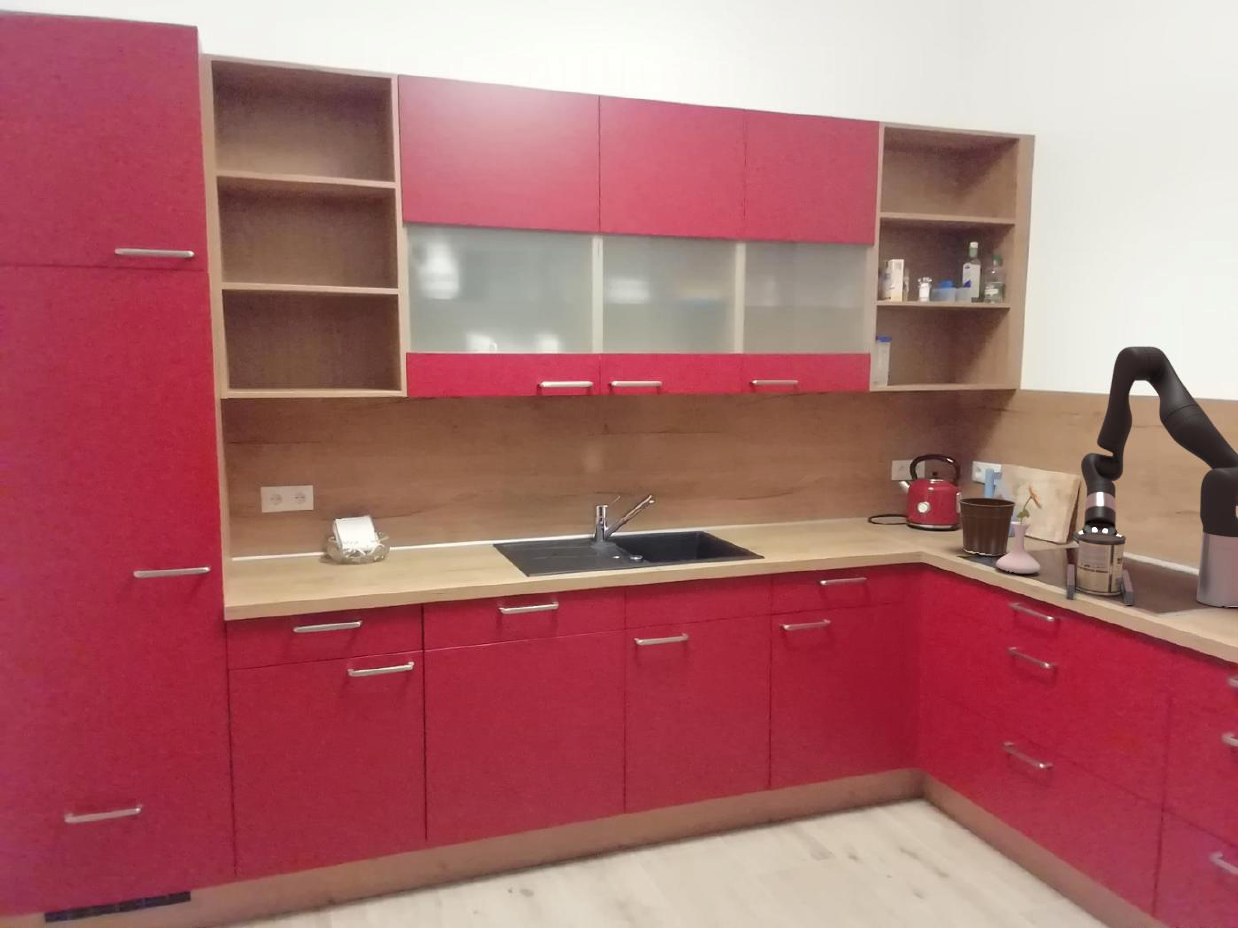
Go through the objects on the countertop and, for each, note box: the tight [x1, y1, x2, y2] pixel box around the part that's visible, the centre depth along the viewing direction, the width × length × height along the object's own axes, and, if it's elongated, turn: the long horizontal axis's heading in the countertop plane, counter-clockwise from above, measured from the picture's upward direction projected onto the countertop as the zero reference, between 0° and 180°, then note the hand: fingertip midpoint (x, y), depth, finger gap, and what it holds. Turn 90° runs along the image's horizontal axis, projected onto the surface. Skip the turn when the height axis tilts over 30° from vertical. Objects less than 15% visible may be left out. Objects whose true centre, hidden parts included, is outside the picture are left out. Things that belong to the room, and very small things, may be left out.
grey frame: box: [1066, 563, 1135, 606], centre depth 222 cm, size 14×26×4 cm, turn 152°
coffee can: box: [1075, 533, 1126, 597], centre depth 221 cm, size 10×10×14 cm
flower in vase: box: [995, 482, 1044, 575], centre depth 241 cm, size 13×11×25 cm
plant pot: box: [957, 497, 1017, 555], centre depth 266 cm, size 16×16×16 cm
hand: (1098, 564), depth 229 cm, fingers closed
